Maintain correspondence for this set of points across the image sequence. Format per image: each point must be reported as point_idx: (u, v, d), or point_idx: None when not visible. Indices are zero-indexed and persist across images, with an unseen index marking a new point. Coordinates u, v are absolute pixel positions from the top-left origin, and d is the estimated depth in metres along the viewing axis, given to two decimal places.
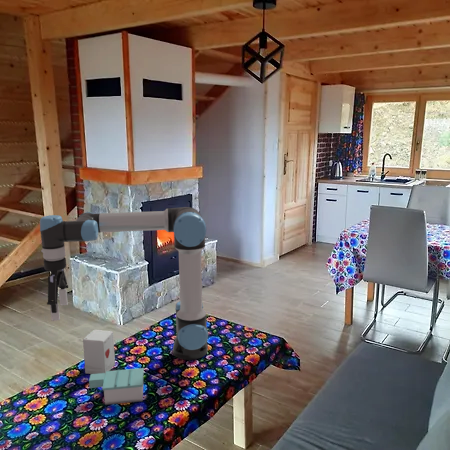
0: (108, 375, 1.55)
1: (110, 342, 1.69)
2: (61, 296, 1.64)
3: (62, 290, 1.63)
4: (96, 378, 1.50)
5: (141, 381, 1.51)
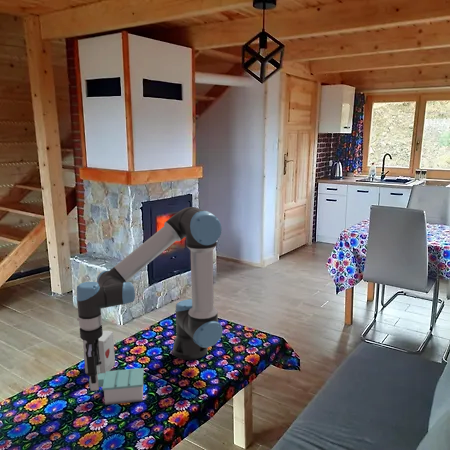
0: (108, 375, 1.55)
1: (110, 342, 1.69)
2: None
3: None
4: None
5: (141, 381, 1.51)
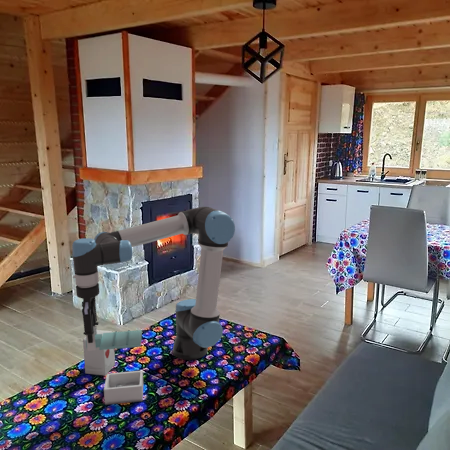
0: (105, 336, 1.51)
1: None
2: None
3: (92, 328, 1.49)
4: None
5: (139, 341, 1.47)
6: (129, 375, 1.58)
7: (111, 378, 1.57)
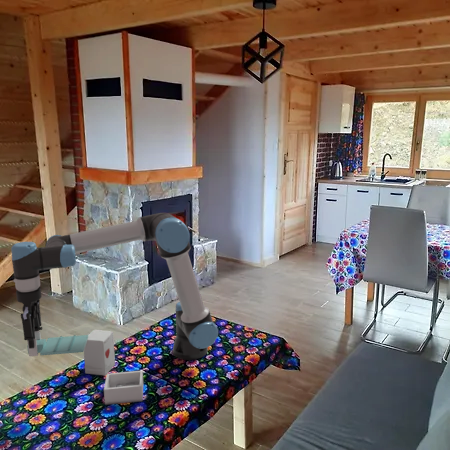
0: (49, 341, 1.48)
1: (110, 342, 1.69)
2: None
3: (35, 332, 1.47)
4: None
5: (82, 347, 1.45)
6: (129, 375, 1.58)
7: (111, 378, 1.57)
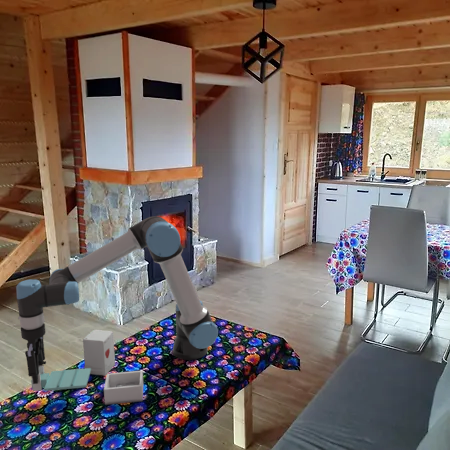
0: (53, 375, 1.51)
1: (110, 342, 1.69)
2: None
3: (39, 367, 1.50)
4: None
5: (85, 381, 1.48)
6: (129, 375, 1.58)
7: (111, 378, 1.57)
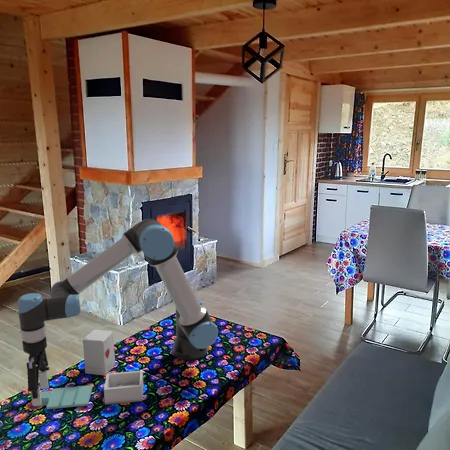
0: (55, 393, 1.53)
1: (110, 342, 1.69)
2: (41, 379, 1.53)
3: (42, 373, 1.53)
4: (41, 396, 1.49)
5: (87, 399, 1.49)
6: (129, 375, 1.58)
7: (111, 378, 1.57)
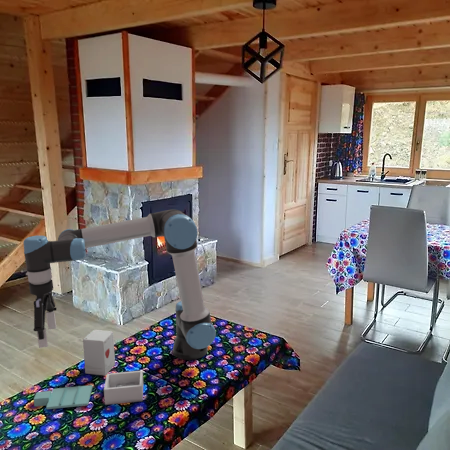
0: (55, 393, 1.53)
1: (110, 342, 1.69)
2: (49, 319, 1.55)
3: (50, 313, 1.55)
4: (41, 396, 1.49)
5: (87, 399, 1.49)
6: (129, 375, 1.58)
7: (111, 378, 1.57)
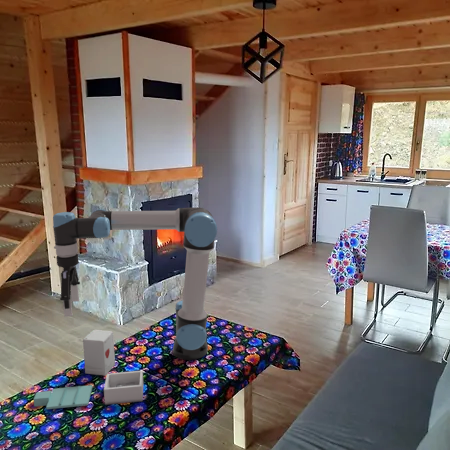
0: (55, 393, 1.53)
1: (110, 342, 1.69)
2: (72, 292, 1.65)
3: (74, 286, 1.65)
4: (41, 396, 1.49)
5: (87, 399, 1.49)
6: (129, 375, 1.58)
7: (111, 378, 1.57)
